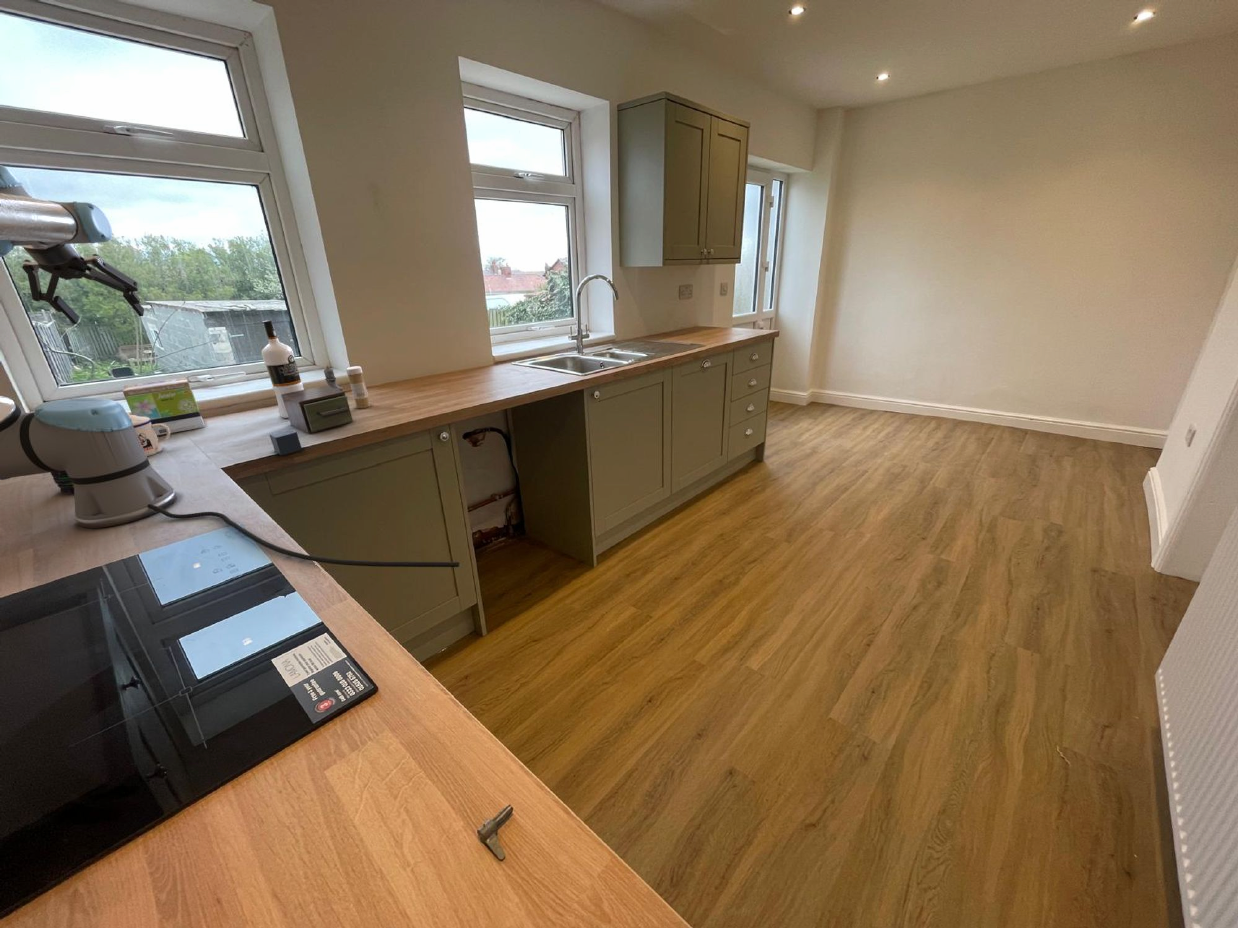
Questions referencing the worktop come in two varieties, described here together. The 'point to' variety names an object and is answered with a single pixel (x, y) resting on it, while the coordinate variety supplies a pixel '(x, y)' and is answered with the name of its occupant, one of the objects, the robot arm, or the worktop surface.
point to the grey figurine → (331, 379)
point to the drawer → (327, 412)
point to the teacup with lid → (148, 434)
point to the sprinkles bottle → (358, 386)
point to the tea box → (165, 404)
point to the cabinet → (298, 398)
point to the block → (285, 442)
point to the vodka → (280, 367)
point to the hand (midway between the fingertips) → (109, 316)
